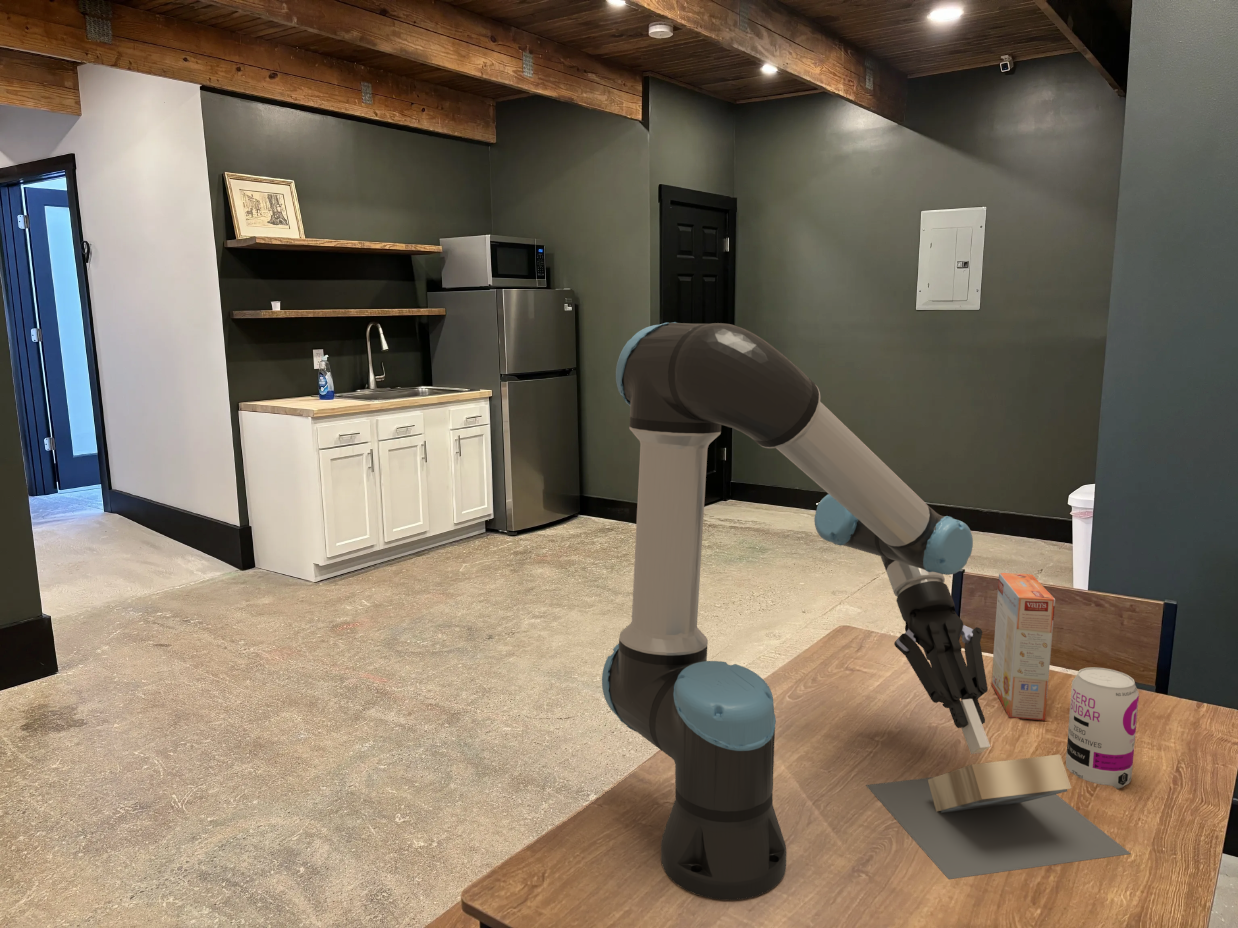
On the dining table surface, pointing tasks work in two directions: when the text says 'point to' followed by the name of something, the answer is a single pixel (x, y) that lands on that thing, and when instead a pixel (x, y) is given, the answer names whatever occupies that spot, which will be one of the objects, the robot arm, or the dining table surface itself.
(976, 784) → the wooden block
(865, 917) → the dining table surface
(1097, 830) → the mat
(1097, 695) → the supplement can
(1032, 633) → the cracker box
